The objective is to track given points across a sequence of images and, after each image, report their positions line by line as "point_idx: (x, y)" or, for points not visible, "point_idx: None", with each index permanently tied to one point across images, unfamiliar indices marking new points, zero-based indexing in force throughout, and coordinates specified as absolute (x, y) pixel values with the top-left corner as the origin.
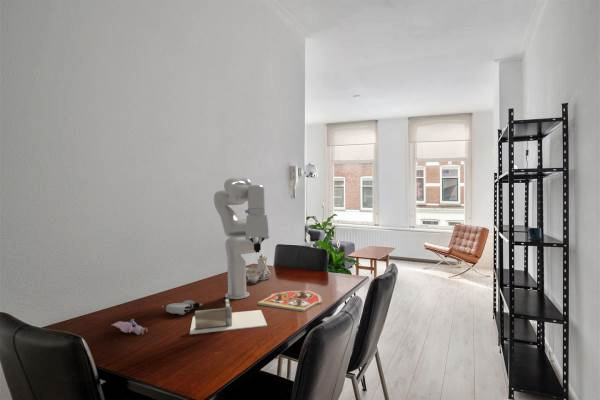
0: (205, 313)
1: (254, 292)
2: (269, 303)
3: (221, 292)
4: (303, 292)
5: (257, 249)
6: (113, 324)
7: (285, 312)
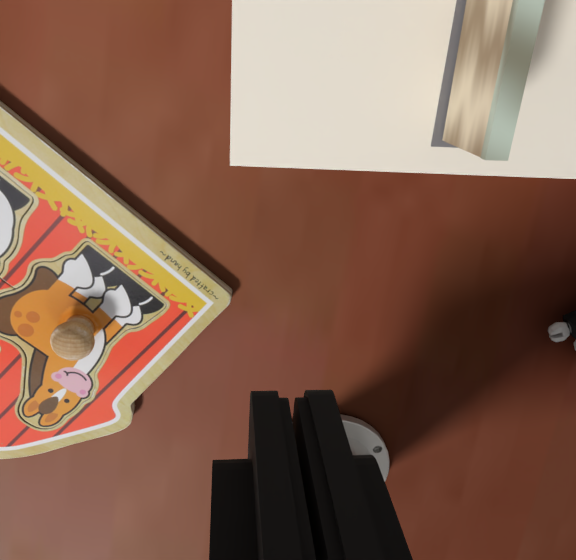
0: None
1: None
2: (159, 257)
3: None
4: None
5: (305, 438)
6: None
7: (62, 66)
